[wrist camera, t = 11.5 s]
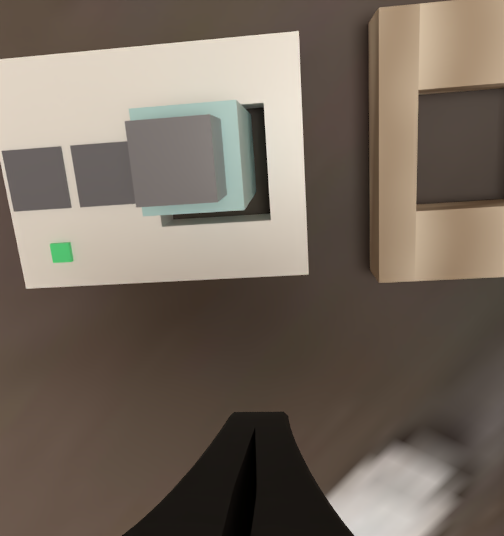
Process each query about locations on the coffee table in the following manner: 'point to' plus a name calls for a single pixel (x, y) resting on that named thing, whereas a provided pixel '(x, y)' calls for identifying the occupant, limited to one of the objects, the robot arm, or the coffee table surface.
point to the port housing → (119, 170)
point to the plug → (191, 157)
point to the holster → (406, 133)
